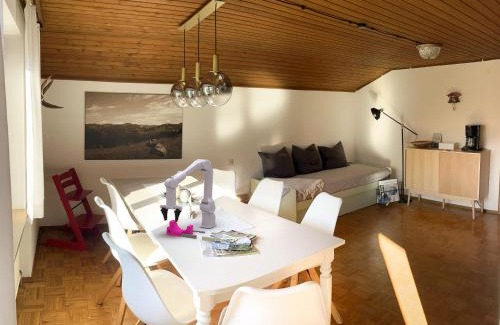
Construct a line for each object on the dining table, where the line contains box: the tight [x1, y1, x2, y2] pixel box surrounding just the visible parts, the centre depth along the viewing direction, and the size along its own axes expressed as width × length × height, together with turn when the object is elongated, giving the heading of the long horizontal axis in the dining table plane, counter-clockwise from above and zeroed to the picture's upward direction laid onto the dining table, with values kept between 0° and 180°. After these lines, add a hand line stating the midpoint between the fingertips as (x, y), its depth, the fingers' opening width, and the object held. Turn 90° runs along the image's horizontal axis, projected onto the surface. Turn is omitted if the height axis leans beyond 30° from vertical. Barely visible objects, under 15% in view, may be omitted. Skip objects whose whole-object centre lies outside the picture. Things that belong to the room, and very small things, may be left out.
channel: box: [181, 229, 206, 240], centre depth 236 cm, size 11×18×2 cm, turn 68°
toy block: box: [165, 219, 194, 238], centre depth 235 cm, size 15×6×8 cm, turn 66°
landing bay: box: [201, 231, 232, 243], centre depth 228 cm, size 13×19×2 cm, turn 68°
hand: (171, 221), depth 232 cm, fingers open, 7 cm apart
